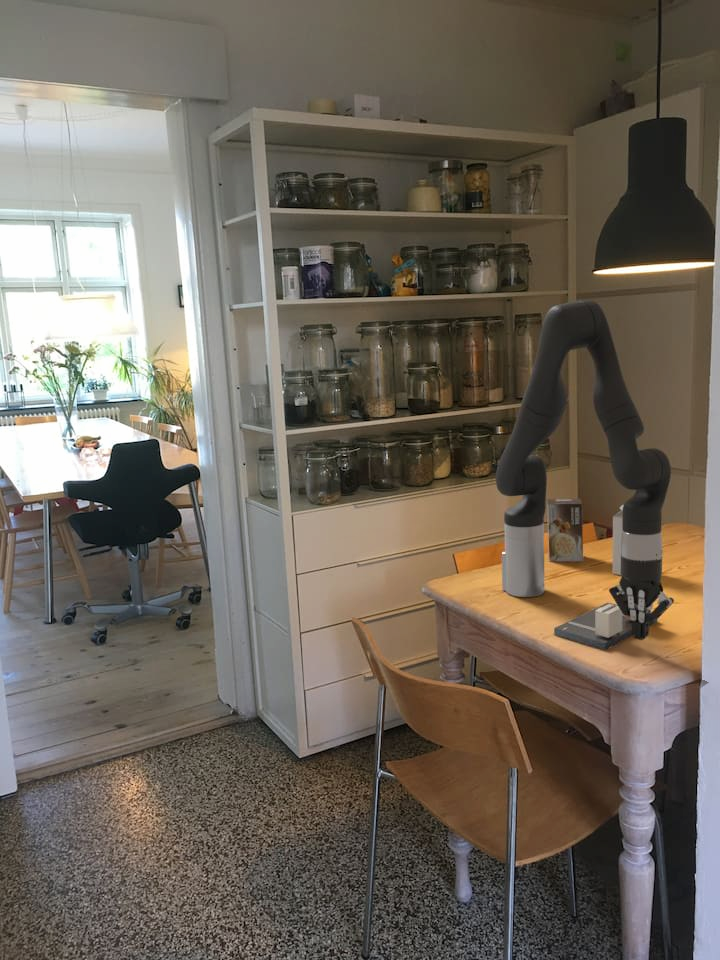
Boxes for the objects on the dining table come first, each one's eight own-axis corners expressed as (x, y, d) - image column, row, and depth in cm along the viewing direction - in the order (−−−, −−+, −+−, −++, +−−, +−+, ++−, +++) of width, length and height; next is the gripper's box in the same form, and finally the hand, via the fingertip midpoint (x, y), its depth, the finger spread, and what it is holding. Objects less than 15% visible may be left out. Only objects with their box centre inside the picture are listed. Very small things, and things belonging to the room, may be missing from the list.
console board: (554, 634, 166) (554, 627, 166) (607, 608, 179) (607, 601, 179) (605, 650, 157) (605, 642, 157) (657, 621, 170) (657, 614, 170)
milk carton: (652, 572, 202) (653, 499, 198) (638, 579, 197) (639, 504, 193) (626, 567, 207) (626, 495, 203) (612, 574, 202) (612, 501, 198)
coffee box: (582, 555, 219) (582, 498, 216) (583, 562, 213) (583, 503, 210) (547, 554, 221) (547, 498, 218) (548, 561, 215) (547, 503, 212)
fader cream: (595, 633, 161) (595, 609, 160) (609, 626, 164) (609, 602, 163) (608, 637, 159) (608, 613, 158) (622, 630, 162) (622, 606, 161)
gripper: (599, 551, 155) (599, 635, 159) (663, 564, 145) (662, 653, 149) (620, 543, 160) (620, 624, 163) (684, 554, 150) (682, 641, 154)
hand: (640, 638), depth 156 cm, fingers closed
